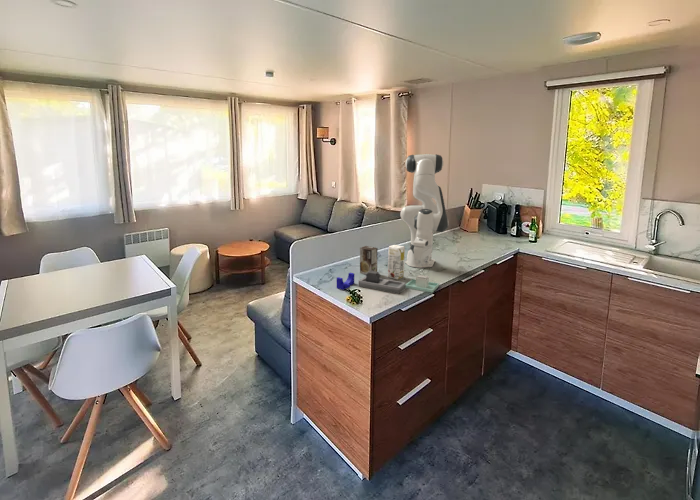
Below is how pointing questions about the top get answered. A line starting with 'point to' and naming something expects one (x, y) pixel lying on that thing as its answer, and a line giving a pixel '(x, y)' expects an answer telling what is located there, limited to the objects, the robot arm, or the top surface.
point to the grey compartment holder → (381, 283)
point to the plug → (422, 281)
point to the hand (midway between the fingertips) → (423, 264)
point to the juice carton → (396, 261)
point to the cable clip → (345, 284)
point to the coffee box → (368, 259)
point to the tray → (430, 288)
